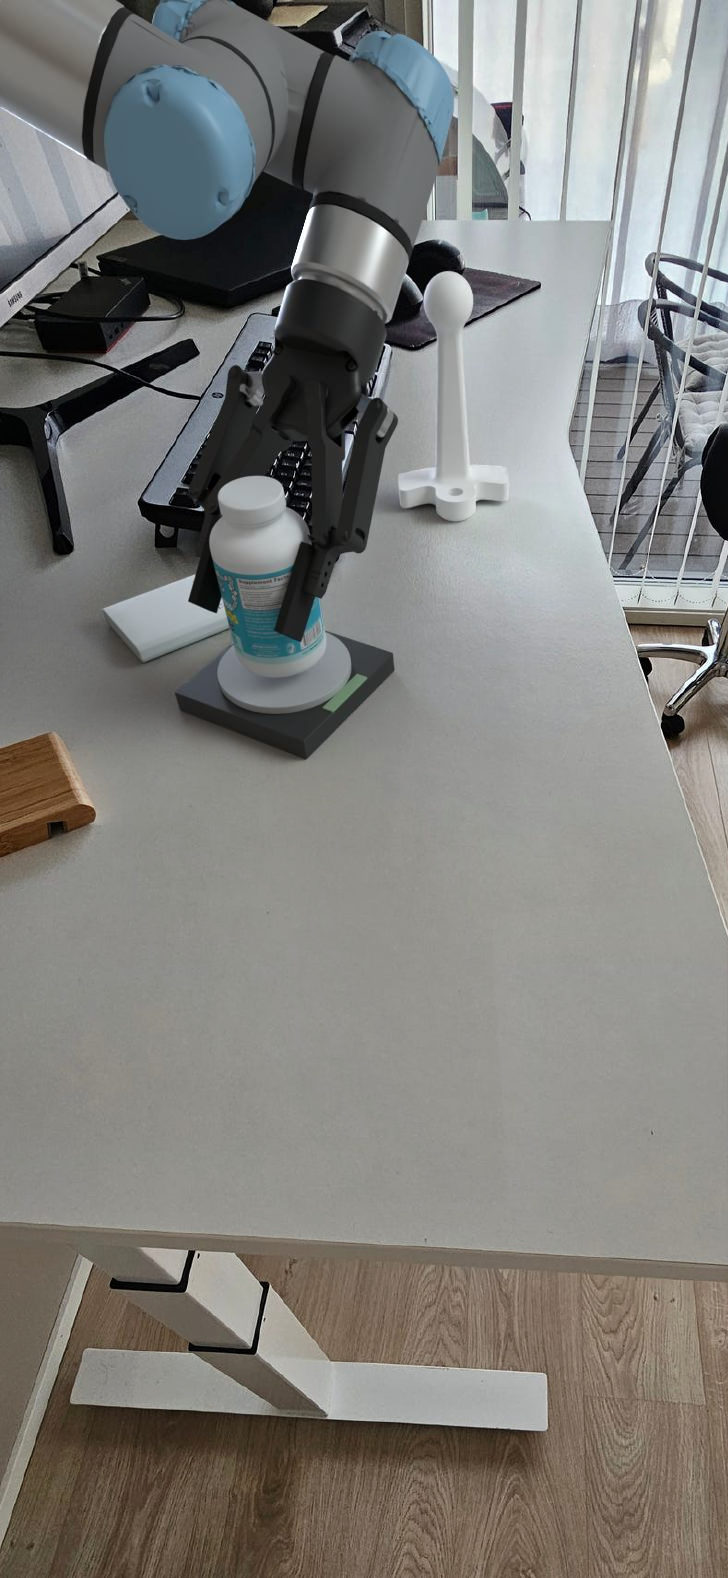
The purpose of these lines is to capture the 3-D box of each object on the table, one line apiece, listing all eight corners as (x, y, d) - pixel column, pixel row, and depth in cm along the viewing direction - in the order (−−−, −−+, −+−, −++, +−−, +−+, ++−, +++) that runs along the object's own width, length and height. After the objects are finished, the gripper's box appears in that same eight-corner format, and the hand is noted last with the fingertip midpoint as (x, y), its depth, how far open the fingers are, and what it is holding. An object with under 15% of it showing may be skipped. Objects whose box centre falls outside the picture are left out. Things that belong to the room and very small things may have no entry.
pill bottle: (242, 629, 83) (205, 467, 72) (330, 625, 83) (306, 463, 72) (232, 684, 78) (190, 520, 67) (325, 680, 78) (298, 515, 67)
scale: (179, 710, 82) (171, 685, 80) (272, 629, 89) (268, 604, 87) (306, 759, 78) (302, 734, 76) (395, 670, 84) (392, 645, 82)
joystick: (504, 483, 103) (507, 259, 88) (512, 519, 99) (518, 291, 83) (398, 490, 103) (383, 268, 88) (402, 527, 99) (386, 299, 83)
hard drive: (106, 623, 90) (227, 576, 94) (143, 665, 86) (268, 615, 90) (100, 607, 89) (223, 560, 93) (138, 649, 85) (265, 598, 89)
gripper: (482, 356, 70) (378, 670, 75) (255, 310, 77) (172, 600, 81) (441, 297, 63) (330, 647, 68) (196, 252, 70) (109, 573, 75)
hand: (244, 621), depth 75 cm, fingers closed on pill bottle, 7 cm apart
